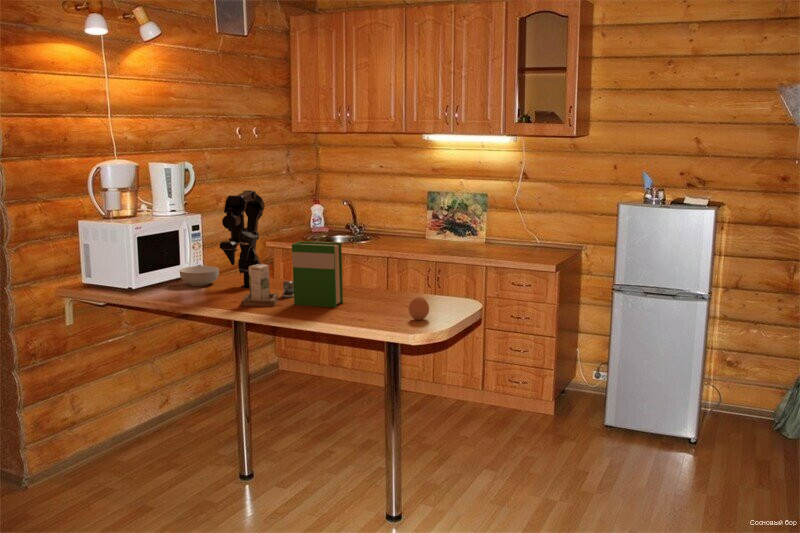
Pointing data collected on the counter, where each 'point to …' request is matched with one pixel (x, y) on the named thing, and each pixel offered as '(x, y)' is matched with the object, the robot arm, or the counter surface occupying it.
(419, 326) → the counter surface
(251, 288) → the syrup box
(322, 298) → the hardback book
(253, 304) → the socket tray
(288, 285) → the chuck post
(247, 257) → the robot arm
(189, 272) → the cereal bowl
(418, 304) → the egg
